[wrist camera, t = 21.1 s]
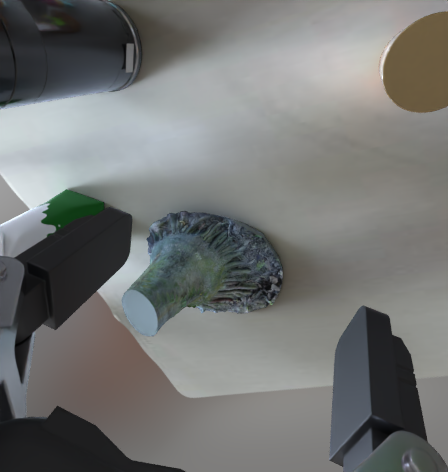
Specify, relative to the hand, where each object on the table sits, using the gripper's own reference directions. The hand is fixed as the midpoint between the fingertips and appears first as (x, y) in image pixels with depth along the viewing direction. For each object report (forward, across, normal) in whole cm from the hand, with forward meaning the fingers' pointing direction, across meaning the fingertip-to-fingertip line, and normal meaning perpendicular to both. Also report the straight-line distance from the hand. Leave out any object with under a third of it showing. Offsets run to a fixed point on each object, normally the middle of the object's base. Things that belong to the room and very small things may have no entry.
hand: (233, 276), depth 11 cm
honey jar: (+29, -7, -7) cm, 31 cm away
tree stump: (+30, +7, +24) cm, 39 cm away
